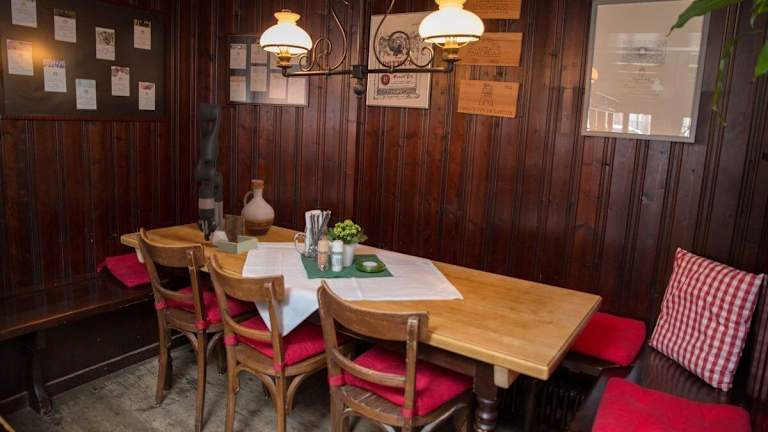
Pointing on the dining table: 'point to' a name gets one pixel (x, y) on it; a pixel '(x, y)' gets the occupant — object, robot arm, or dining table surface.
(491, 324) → the dining table surface
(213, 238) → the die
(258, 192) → the jug
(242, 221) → the menu board
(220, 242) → the tray
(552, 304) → the dining table surface
